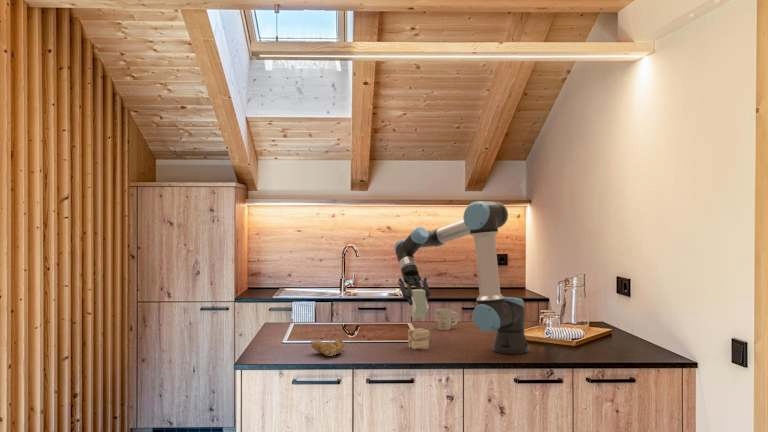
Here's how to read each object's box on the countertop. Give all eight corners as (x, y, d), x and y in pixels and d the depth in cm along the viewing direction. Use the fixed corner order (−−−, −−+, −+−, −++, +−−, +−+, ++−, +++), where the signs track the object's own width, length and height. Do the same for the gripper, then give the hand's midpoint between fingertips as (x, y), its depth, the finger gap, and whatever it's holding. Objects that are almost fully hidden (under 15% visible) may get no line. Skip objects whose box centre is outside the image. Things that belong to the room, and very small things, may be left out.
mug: (433, 328, 318) (433, 308, 318) (454, 326, 323) (454, 307, 323) (441, 331, 311) (441, 311, 310) (462, 328, 316) (462, 309, 316)
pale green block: (425, 317, 272) (425, 290, 272) (414, 318, 270) (414, 291, 270) (421, 315, 277) (421, 289, 276) (411, 316, 275) (410, 289, 275)
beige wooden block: (428, 349, 271) (428, 340, 271) (413, 350, 269) (413, 341, 269) (423, 346, 278) (423, 337, 278) (408, 347, 276) (408, 338, 276)
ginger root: (314, 357, 252) (314, 337, 254) (308, 358, 267) (308, 339, 269) (352, 356, 256) (351, 336, 258) (344, 356, 271) (344, 338, 273)
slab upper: (429, 340, 272) (429, 331, 272) (415, 341, 269) (415, 332, 269) (422, 337, 278) (422, 328, 278) (408, 338, 275) (408, 329, 275)
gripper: (425, 273, 290) (438, 314, 275) (388, 274, 285) (399, 316, 270) (429, 263, 285) (442, 303, 270) (391, 264, 280) (403, 305, 265)
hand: (421, 310), depth 270 cm, fingers closed on pale green block, 5 cm apart
